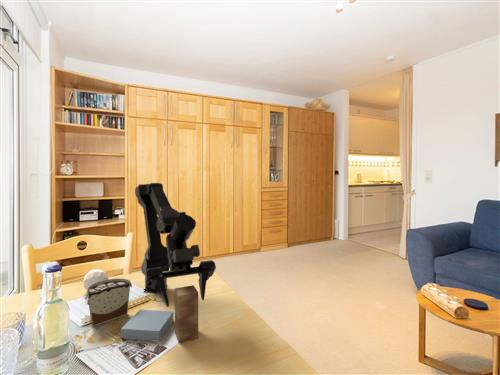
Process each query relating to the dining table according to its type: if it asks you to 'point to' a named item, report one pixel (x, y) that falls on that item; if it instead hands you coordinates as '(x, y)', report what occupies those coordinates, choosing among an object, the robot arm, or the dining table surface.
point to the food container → (108, 300)
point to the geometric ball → (94, 277)
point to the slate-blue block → (147, 325)
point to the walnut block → (186, 313)
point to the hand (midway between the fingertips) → (186, 303)
